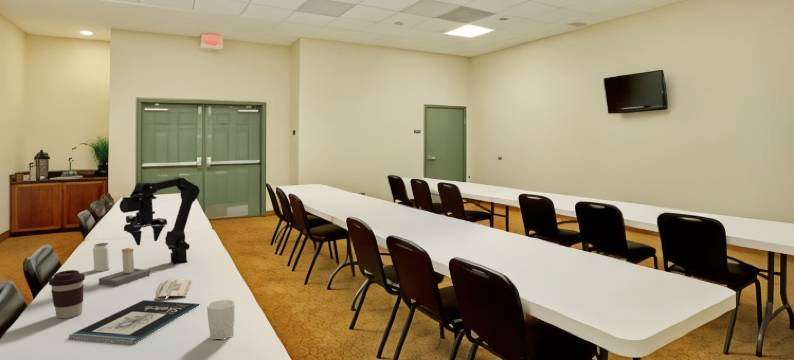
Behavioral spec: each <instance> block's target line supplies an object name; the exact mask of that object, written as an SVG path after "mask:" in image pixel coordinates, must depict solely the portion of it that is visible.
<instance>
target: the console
mask: <svg viewBox="0 0 794 360" xmlns="http://www.w3.org/2000/svg"><path fill="white" fill-rule="evenodd" d="M146 277H150V269H141V268H135V267H134V272H131V273H125V272H123V270H121V271H118V272H116V273H112V274H109V275H105V276H102V277H100V278H98V284H99V285H103V286H104V285H105V286H112V287H120V286H122V285H125V284H128V283H132V282H135V281H137V280H140V279H144V278H146Z"/></svg>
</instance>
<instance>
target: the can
mask: <svg viewBox="0 0 794 360" xmlns="http://www.w3.org/2000/svg"><path fill="white" fill-rule="evenodd" d="M92 253H93V254H92V256H93V269H94V271H95V272H105V271H109V270H111V269H112V268H111V266H112V265H111V264H112V263H111V249H110V245H109V243H108V242H100V243H96V244H94V245H93V248H92Z"/></svg>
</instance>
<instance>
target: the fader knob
mask: <svg viewBox="0 0 794 360" xmlns="http://www.w3.org/2000/svg"><path fill="white" fill-rule="evenodd" d="M121 253H122V254H121V256H122V271H123V272H125V273H131V272H134V268H135V265H134V264H135V263H134V248H128V247H126V248H122V249H121Z"/></svg>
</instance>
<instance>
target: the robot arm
mask: <svg viewBox="0 0 794 360" xmlns="http://www.w3.org/2000/svg"><path fill="white" fill-rule="evenodd" d="M173 187H176V188H177V189H178V191H180V199H181V203H180V205H179V209H178V211H177V216H176V220H175V223H174V226H173V228H172V229H171V230H170V231H167V232H166V236H165V237H164V240H165V245H166V247H168V250H170V251H171V252H170V262H171V263H172V265H175V264H182V263H188V258H187V251H188V250H189V249H190V243H188V242H187V241H186V234H185V228H186V226H187V222H188V219H189V215H190V212H191V209H192V206H193V203H194V202H195V201H196V200H197V199H198V196H199V194H200V192H201V189H200V188H199V186H198V185H196V184H194V183H193V182H190V181H189V180H187V179H186V178H184V177H181V176H175V177H171V178H167V179H162V180H159V181H141V182H140V181H139V182H136V184H135V187H134V189H133V190H132V192H131V194H130V195H129V196H123V197H122V198H121V201H120V203H119V206H118V207H119V209H120V211H121V213H123V214H125V213H127V214H128V213H133V212H135V215H134V216H133V215H127V216H125V222H126V223H127V224H125V225H124V226H123V231H124V232H127V233H129V234H131V236H132V237H133V239H134V242H135V244H136V245H137V246H140V245H141V240H142V232H143V231H142V230H141V229H142V228H146V227H151V228H152V232H153V233H152V234H153V240H154V242H157V241H158V239H159V237H160V235H161V233H162V231H163V230H164V228H165V227H166V226H167V225H168V220H167V218H164V217H163V218H160V217H158V218H154V214H156V212H155V211H154V210H153V209H154V207H153V200H156V199H157V197H156V196H155V195H154V194H155V193H157V192H158V191H161V190H166V189H169V188H173Z"/></svg>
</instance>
